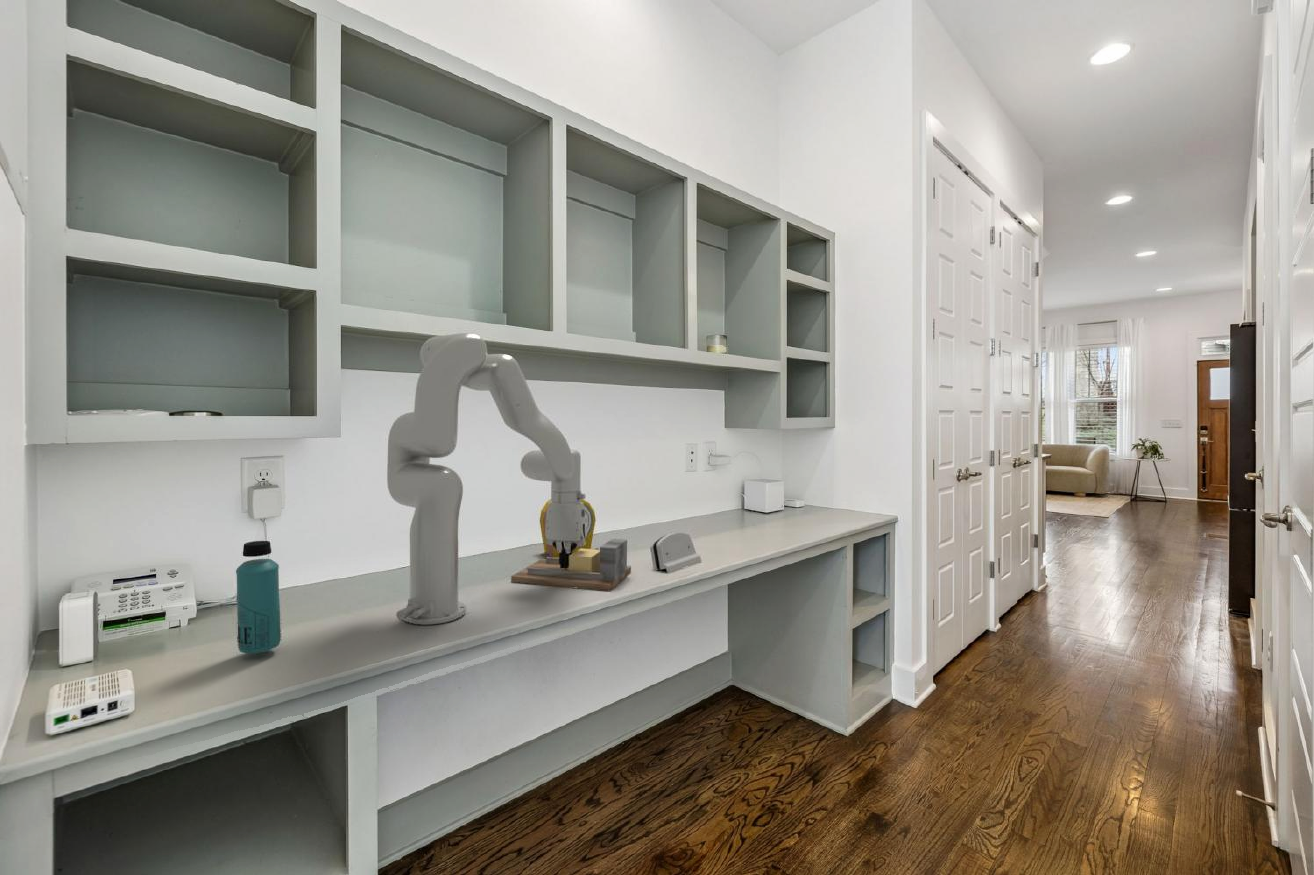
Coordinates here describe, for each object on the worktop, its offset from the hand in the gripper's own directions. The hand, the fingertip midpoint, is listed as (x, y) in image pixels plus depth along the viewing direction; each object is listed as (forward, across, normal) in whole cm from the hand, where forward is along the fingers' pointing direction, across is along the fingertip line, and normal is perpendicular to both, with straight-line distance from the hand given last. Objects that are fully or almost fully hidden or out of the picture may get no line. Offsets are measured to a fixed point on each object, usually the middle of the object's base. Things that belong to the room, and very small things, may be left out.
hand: (565, 567), depth 156 cm
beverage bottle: (+3, +32, +61) cm, 69 cm away
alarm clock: (+3, +9, -23) cm, 25 cm away
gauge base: (+2, -2, 0) cm, 3 cm away
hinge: (+3, -25, -19) cm, 32 cm away
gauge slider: (+1, -6, -2) cm, 6 cm away
